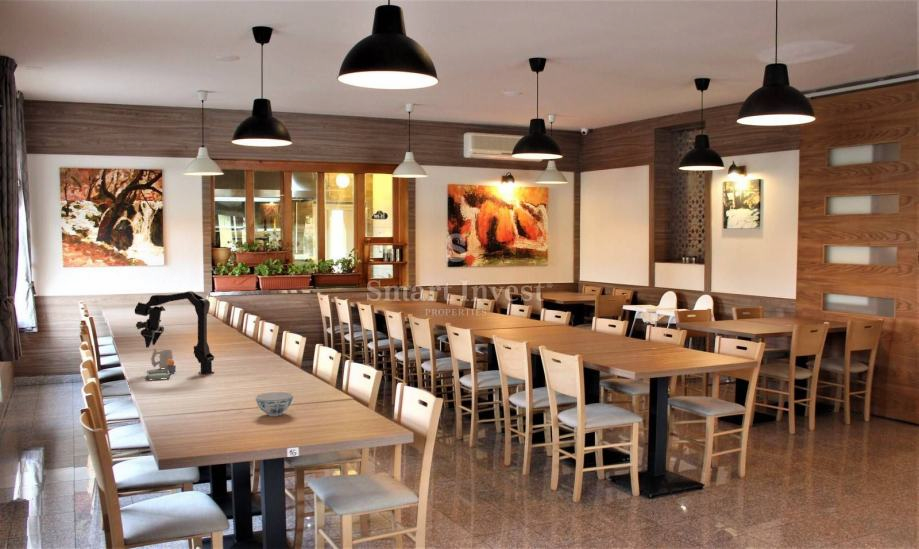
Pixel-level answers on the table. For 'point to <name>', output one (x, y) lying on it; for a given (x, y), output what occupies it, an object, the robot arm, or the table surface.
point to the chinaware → (274, 402)
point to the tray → (158, 374)
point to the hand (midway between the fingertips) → (150, 346)
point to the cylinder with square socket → (171, 368)
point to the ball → (170, 362)
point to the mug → (161, 357)
